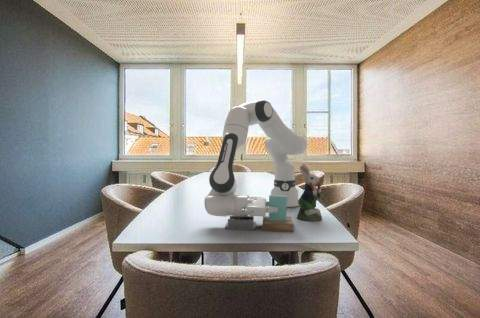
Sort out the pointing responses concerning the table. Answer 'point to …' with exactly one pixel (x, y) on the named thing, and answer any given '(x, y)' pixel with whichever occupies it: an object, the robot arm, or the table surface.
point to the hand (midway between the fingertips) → (277, 206)
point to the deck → (277, 225)
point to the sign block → (281, 204)
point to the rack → (241, 223)
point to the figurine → (309, 197)
